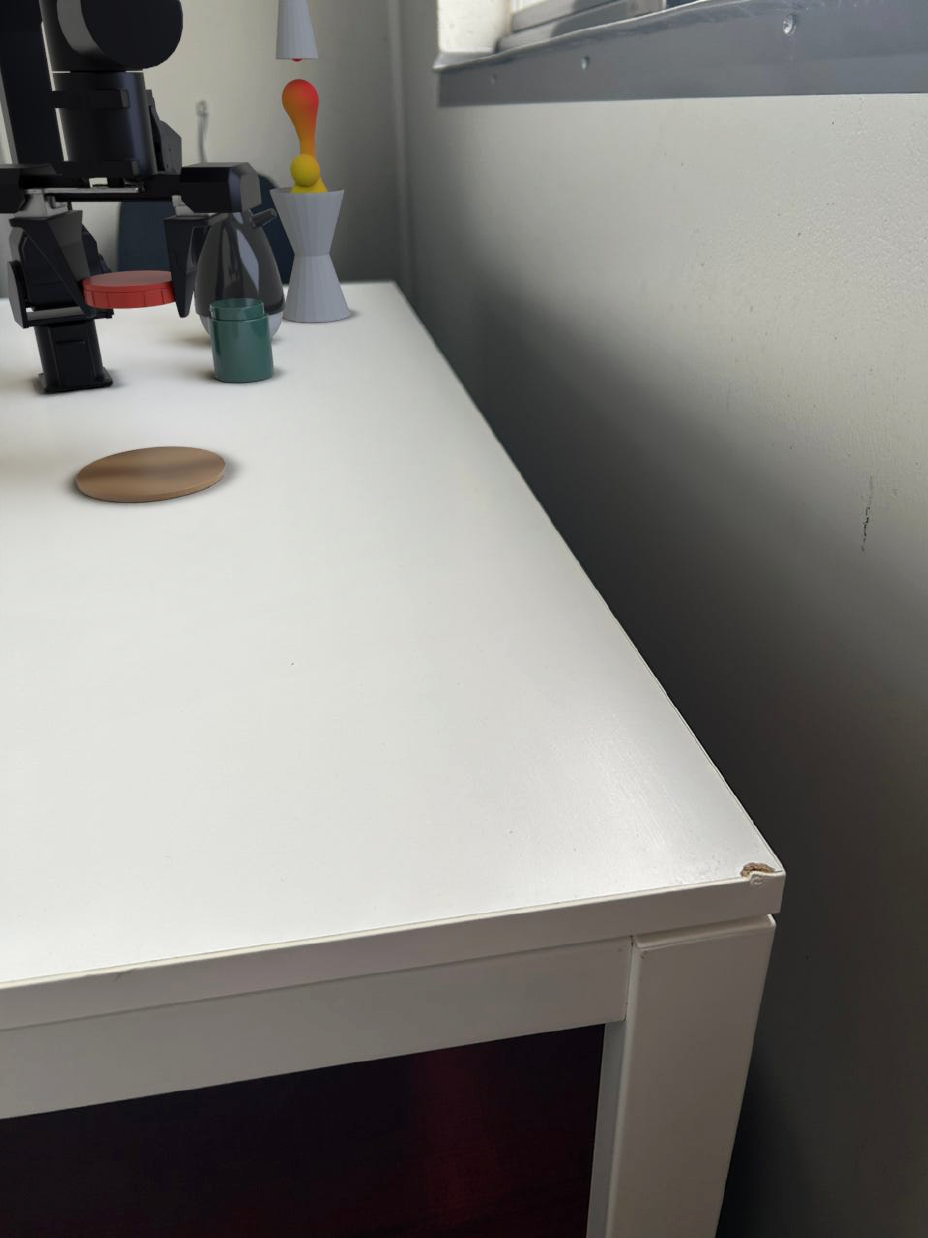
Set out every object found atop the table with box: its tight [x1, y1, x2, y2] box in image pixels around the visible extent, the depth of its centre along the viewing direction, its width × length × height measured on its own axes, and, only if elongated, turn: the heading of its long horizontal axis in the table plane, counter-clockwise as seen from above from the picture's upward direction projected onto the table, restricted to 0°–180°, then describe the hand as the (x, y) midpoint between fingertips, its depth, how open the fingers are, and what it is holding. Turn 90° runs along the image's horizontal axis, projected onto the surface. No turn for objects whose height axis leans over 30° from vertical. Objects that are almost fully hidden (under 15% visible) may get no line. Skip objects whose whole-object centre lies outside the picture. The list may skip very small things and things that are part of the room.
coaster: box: [75, 445, 227, 503], centre depth 76 cm, size 11×11×1 cm
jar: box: [208, 298, 275, 384], centre depth 100 cm, size 6×6×7 cm
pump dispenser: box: [193, 207, 286, 339], centre depth 111 cm, size 10×10×15 cm
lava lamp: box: [269, 0, 351, 323], centre depth 119 cm, size 9×9×35 cm
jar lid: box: [83, 269, 175, 310], centre depth 71 cm, size 7×7×2 cm
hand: (138, 316), depth 72 cm, fingers closed on jar lid, 7 cm apart
